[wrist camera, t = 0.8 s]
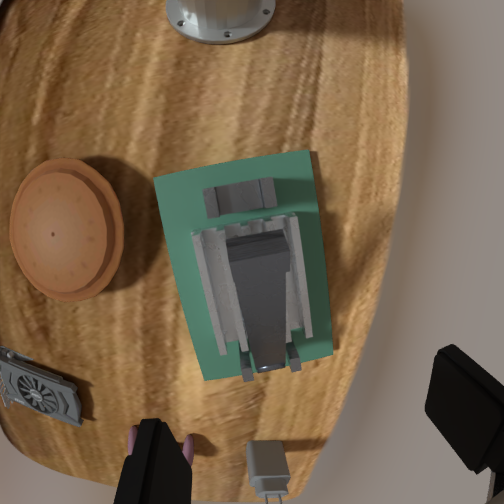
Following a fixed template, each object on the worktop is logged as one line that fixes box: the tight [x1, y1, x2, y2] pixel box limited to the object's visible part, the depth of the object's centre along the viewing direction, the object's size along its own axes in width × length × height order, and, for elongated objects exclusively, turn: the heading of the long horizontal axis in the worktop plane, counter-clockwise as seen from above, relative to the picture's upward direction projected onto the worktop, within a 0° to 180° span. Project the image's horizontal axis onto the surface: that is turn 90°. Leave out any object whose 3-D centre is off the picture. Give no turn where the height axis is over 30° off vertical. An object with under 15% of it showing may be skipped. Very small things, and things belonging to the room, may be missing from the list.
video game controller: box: [128, 426, 194, 466], centre depth 35 cm, size 10×5×7 cm, turn 82°
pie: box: [10, 158, 124, 302], centre depth 28 cm, size 15×16×5 cm
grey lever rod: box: [225, 229, 290, 373], centre depth 22 cm, size 19×3×2 cm
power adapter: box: [246, 441, 290, 504], centre depth 33 cm, size 3×5×12 cm, turn 82°
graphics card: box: [0, 346, 84, 427], centre depth 33 cm, size 17×4×12 cm
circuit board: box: [153, 150, 333, 381], centre depth 32 cm, size 24×16×1 cm, turn 10°
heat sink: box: [191, 176, 313, 382], centre depth 29 cm, size 18×10×6 cm, turn 10°
